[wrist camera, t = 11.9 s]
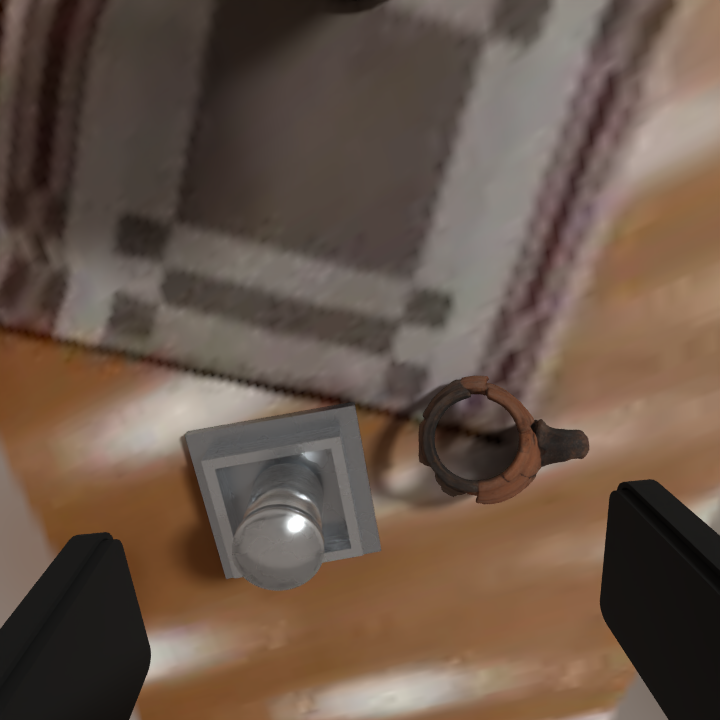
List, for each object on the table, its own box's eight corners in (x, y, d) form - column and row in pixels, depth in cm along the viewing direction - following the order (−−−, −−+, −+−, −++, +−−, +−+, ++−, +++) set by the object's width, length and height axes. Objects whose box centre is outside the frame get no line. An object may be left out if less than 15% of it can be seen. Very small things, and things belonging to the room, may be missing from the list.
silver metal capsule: (276, 446, 38) (263, 494, 31) (340, 485, 39) (342, 539, 32) (234, 505, 39) (214, 563, 32) (298, 541, 40) (291, 604, 33)
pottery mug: (434, 500, 41) (419, 515, 34) (421, 389, 43) (403, 378, 35) (588, 489, 38) (611, 502, 30) (567, 370, 40) (583, 353, 32)
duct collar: (187, 431, 38) (176, 447, 35) (354, 401, 38) (355, 415, 35) (228, 572, 41) (220, 596, 39) (380, 544, 41) (383, 567, 39)
